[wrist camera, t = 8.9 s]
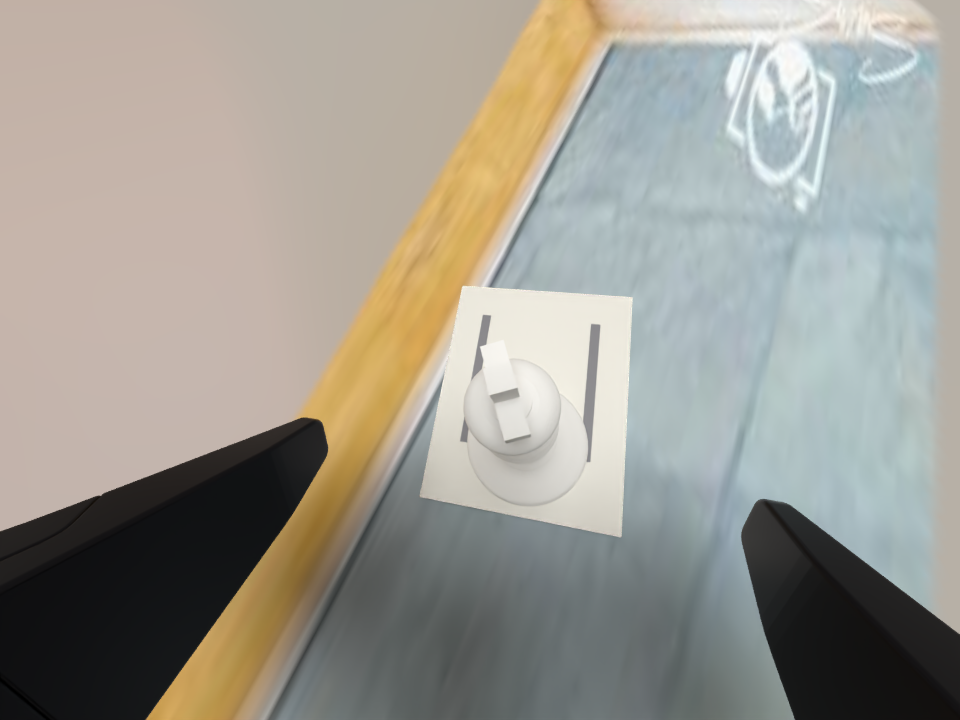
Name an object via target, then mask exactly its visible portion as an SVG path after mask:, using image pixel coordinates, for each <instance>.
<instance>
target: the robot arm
mask: <svg viewBox="0 0 960 720" xmlns="http://www.w3.org/2000/svg"><path fill="white" fill-rule="evenodd" d="M327 453H328V444H327V440H326V435H325V431H324V427H323V424H322V422H321V421H320V420H317V419H312V418H300V419H297V420H295V421H292V422H289V423H287V424H284V425H282V426H279V427H276V428H274V429H271V430H269V431H266V432H263V433H261V434H258V435H256V436H253V437H250V438H248V439H245V440H243V441H240V442H237V443H234V444H232V445H229V446H227V447H224V448H221V449H219V450H216V451H213V452H211V453H208V454H206V455H203V456H200V457H198V458H195V459H192V460H190V461H187V462H185V463H182V464H180V465H177V466H174V467H172V468H169V469H166V470H164V471H161V472H159V473H156V474H153V475H151V476H148V477H145V478H143V479H141V480H137V481H135V482H132V483H130V484H127V485H124V486H122V487H119V488H116V489H114V490H111V491H109V492H106V493H104V494H102V496H95V497H93V498H90V499H88V500H85V501H82V502H80V503H77V504H74V505H72V506H69V507H66V508H64V509H61V510H58V511H56V512H53V513H50V514H47V515H45V516H42V517H39V518H37V519H34V520H31V521H29V522H26V523H23V524H20V525H17V526H14V527H12V528H9V529H6V530H3V531H0V720H146V718H147V717H148V716H149V714H150V713H151V712H152V710H153V709H154V707H155V706H156V705H157V703H158V702H159V700H160V699H161V698H162V696H163V695H164V693H165V692H166V691H167V689H168V688H169V686H170V685H171V684H172V682H173V681H174V679H175V678H176V677H177V675H178V674H179V672H180V671H181V670H182V668H183V667H184V665H185V664H186V663H187V661H188V660H189V659H190V657H191V656H192V654H193V653H194V652H195V650H196V649H197V647H198V646H199V645H200V643H201V642H202V640H203V639H204V638H205V636H206V635H207V633H208V632H209V631H210V629H211V628H212V626H213V625H214V624H215V622H216V621H217V619H218V618H219V617H220V615H221V614H222V612H223V611H224V610H225V608H226V607H227V605H228V604H229V603H230V601H231V600H232V599H233V597H234V596H235V594H236V593H237V592H238V590H239V589H240V587H241V586H242V585H243V583H244V582H245V580H246V579H247V578H248V576H249V575H250V573H251V572H252V571H253V569H254V568H255V566H256V565H257V564H258V562H259V561H260V559H261V558H262V557H263V555H264V554H265V552H266V551H267V550H268V548H269V547H270V546H271V544H272V543H273V541H274V540H275V539H276V537H277V536H278V534H279V533H280V532H281V530H282V529H283V527H284V526H285V525H286V523H287V522H288V520H289V519H290V517H291V516H292V514H293V513H294V511H295V509H296V508H297V506H298V504H299V503H300V501H301V499H302V498H303V496H304V494H305V493H306V491H307V489H308V487H309V486H310V484H311V482H312V481H313V479H314V477H315V476H316V474H317V472H318V470H319V469H320V467H321V465H322V464H323V462H324V460H325V458H326V456H327ZM741 539H742V545H743V549H744V553H745V557H746V561H747V565H748V569H749V573H750V577H751V582H752V586H753V590H754V594H755V598H756V602H757V606H758V610H759V614H760V618H761V622H762V625H763V629H764V632H765V636H766V639H767V642H768V645H769V648H770V651H771V654H772V656H773V659H774V662H775V665H776V668H777V670H778V673H779V676H780V679H781V682H782V684H783V687H784V690H785V693H786V696H787V698H788V701H789V704H790V707H791V710H792V712H793V715H794V718H795V720H960V634H958V633H957V632H956V631H954V630H953V629H952V628H951V627H949V626H948V625H947V624H945V623H944V622H943V621H941V620H940V619H939V618H937V617H936V616H935V615H933V614H932V613H931V612H930V611H928V610H927V609H926V608H924V607H923V606H922V605H920V604H919V603H918V602H916V601H915V600H914V599H913V598H911V597H910V596H909V595H907V594H906V593H905V592H903V591H902V590H901V589H899V588H898V587H897V586H895V585H894V584H893V583H892V582H890V581H889V580H888V579H886V578H885V577H884V576H882V575H881V574H880V573H878V572H877V571H876V570H875V569H873V568H872V567H871V566H869V565H868V564H867V563H865V562H864V561H863V560H861V559H860V558H859V557H858V556H856V555H855V554H854V553H852V552H851V551H850V550H848V549H847V548H846V547H844V546H843V545H842V544H840V543H839V542H838V541H837V540H835V539H834V538H833V537H831V536H830V535H829V534H827V533H826V532H825V531H823V530H822V529H821V528H820V527H818V526H817V525H816V524H814V523H813V522H812V521H810V520H809V519H808V518H806V517H805V516H804V515H802V514H801V513H800V512H799V511H797V510H796V509H795V508H793V507H792V506H790V505H789V504H787V503H784V502H779V501H773V500H767V499H760V500H758V501H757V502H756V503H755V504H754V506H753V508H752V510H751V512H750V514H749V516H748V518H747V520H746V522H745V524H744V526H743V529H742V533H741Z"/></svg>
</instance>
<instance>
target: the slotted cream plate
mask: <svg viewBox="0 0 960 720" xmlns="http://www.w3.org/2000/svg"><path fill="white" fill-rule="evenodd" d="M631 319H632V297H621V296H606V295H591V294H576V293H561V292H546V291H532V290H517V289H502V288H487V287H472V286H462V291H461V296H460V301H459V306H458V311H457V316H456V321H455V325H454V330H453V335H452V340H451V345H450V350H449V355H448V360H447V364H446V369H445V374H444V379H443V384H442V389H441V394H440V399H439V404H438V408H437V413H436V418H435V423H434V428H433V433H432V438H431V443H430V448H429V452H428V457H427V462H426V467H425V472H424V477H423V482H422V487H421V491H420V496H419V497H422V498H427V499H432V500H437V501H442V502H447V503H452V504H457V505H462V506H467V507H472V508H477V509H482V510H487V511H492V512H497V513H502V514H507V515H512V516H517V517H522V518H527V519H532V520H537V521H542V522H547V523H552V524H557V525H562V526H567V527H572V528H577V529H582V530H587V531H592V532H597V533H602V534H607V535H612V536H617V537H621V536H622V515H623V493H624V471H625V449H626V428H627V406H628V384H629V362H630V340H631ZM501 340H504V343H505V346H506V350H507V353H508V357H509V359H522V360H526V361H529V362H532V363H534V364H536V365H538V366H539V367H541V368H542V369H543V370H545V371H546V372H547V373H548V374H549V375H550V377H551V378H552V379H553V381H554V382H555V384H556V386H557V388H558V391H559V393H560V394H562V395H563V396H564V397H565V398H567V399H568V400H569V401H570V402H571V403H572V405H573V406H574V407H575V408H576V410H577V411H578V413H579V415H580V416H581V418H582V421H583V423H584V426H585V429H586V433H587V438H588V456H587V461H586V465H585V468H584V470H583V473H582V475H581V477H580V478H579V480H578V481H577V483H576V484H575V485H574V487H573V488H572V489H571V490H570V491H569V492H567V493H566V494H565V495H564V496H562V497H561V498H559V499H557V500H555V501H553V502H551V503H548V504H544V505H540V506H519V505H515V504H511V503H508V502H506V501H504V500H502V499H500V498H498V497H497V496H495V495H494V494H492V493H491V492H490V491H489V490H488V489H487V488H486V487H485V486H484V485H483V484H482V483H481V481H480V480H479V478H478V477H477V475H476V474H475V472H474V470H473V468H472V465H471V462H470V459H469V455H468V448H467V437H468V430H469V428H468V426H467V424H466V421H465V417H464V397H465V393H466V390H467V388H468V386H469V384H470V382H471V380H472V379H473V378H474V376H475V375H476V374H477V373H478V372H479V371H480V370H481V369H483V368H484V367H485V365H484V361H483V357H482V353H481V349H480V346H484V345H487V344H491V343H494V342H498V341H501Z"/></svg>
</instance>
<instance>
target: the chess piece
mask: <svg viewBox="0 0 960 720" xmlns="http://www.w3.org/2000/svg"><path fill="white" fill-rule="evenodd" d="M480 349H481V353H482V357H483V361H484V365H485V367H484V368H483V369H481V370H480V371H479V372H478V373H477V374H476V375H475V376H474V378H473V379H472V380H471V382H470V384H469V386H468V388H467V390H466V393H465V397H464V417H465V421H466V424H467V426H468V428H469V430H468V437H467V448H468V455H469V459H470V462H471V465H472V468H473V470H474V472H475V474H476V475H477V477H478V478H479V480H480V481H481V483H482V484H483V485H484V486H485V487H486V488H487V489H488V490H489V491H490V492H491V493H492V494H494V495H495V496H497V497H498V498H500V499H502V500H504V501H506V502H508V503H511V504H515V505H519V506H540V505H544V504H548V503H551V502H553V501H555V500H557V499H559V498H561V497H562V496H564V495H565V494H566V493H567V492H569V491H570V490H571V489H572V488H573V487H574V485H575V484H576V483H577V481H578V480H579V478H580V477H581V475H582V473H583V470H584V468H585V465H586V461H587V456H588V438H587V433H586V429H585V426H584V423H583V421H582V418H581V416H580V415H579V413H578V411H577V410H576V408H575V407H574V406H573V405H572V403H571V402H570V401H569V400H568V399H567V398H565V397H564V396H563V395H562V394H560V393H559V391H558V388H557V386H556V384H555V382H554V381H553V379H552V378H551V377H550V375H549V374H548V373H547V372H546V371H545V370H543V369H542V368H541V367H539V366H538V365H536V364H534V363H532V362H529V361H526V360H522V359H509V357H508V353H507V350H506V346H505V343H504V340H501V341H498V342H494V343H491V344H487V345H484V346H480Z"/></svg>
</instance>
